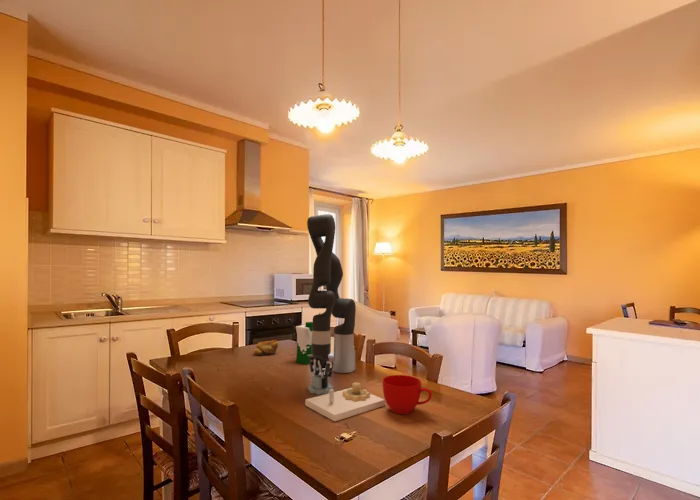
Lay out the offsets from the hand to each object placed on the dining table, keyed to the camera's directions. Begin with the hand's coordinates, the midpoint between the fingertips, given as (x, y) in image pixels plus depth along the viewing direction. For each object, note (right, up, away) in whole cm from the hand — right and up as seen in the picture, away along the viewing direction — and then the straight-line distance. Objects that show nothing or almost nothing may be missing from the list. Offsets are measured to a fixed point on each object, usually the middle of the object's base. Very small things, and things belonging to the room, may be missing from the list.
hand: (320, 385), depth 145 cm
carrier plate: (+10, -1, -15) cm, 18 cm away
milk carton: (-11, -4, +42) cm, 43 cm away
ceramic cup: (+31, -2, -20) cm, 37 cm away
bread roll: (-35, -4, +58) cm, 68 cm away
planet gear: (0, -2, 0) cm, 2 cm away
